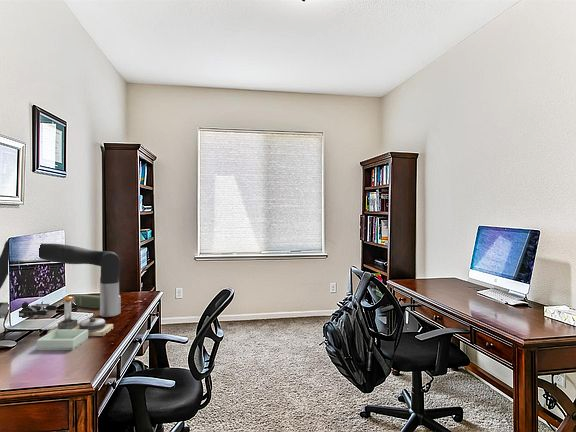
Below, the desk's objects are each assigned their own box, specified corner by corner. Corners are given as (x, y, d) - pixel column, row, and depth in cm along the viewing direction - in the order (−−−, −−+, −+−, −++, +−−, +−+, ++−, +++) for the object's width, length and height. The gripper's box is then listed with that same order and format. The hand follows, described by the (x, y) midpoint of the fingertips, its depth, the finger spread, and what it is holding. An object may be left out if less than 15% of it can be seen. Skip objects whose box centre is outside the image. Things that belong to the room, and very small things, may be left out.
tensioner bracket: (47, 336, 178) (47, 322, 178) (61, 328, 190) (61, 315, 190) (102, 336, 180) (102, 322, 179) (113, 328, 192) (113, 315, 191)
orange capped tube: (69, 326, 187) (69, 295, 187) (74, 327, 185) (74, 297, 185) (61, 328, 184) (61, 297, 184) (65, 329, 182) (66, 298, 182)
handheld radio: (78, 304, 236) (113, 308, 228) (73, 306, 232) (108, 310, 225) (77, 293, 235) (112, 297, 227) (73, 294, 232) (108, 298, 224)
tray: (55, 338, 176) (55, 329, 176) (88, 338, 176) (88, 329, 176) (36, 350, 162) (36, 340, 162) (72, 350, 162) (72, 340, 162)
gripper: (4, 306, 176) (42, 306, 177) (24, 298, 190) (59, 298, 191) (4, 323, 176) (42, 323, 177) (24, 314, 191) (59, 314, 191)
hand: (51, 310), depth 184 cm, fingers open, 8 cm apart
